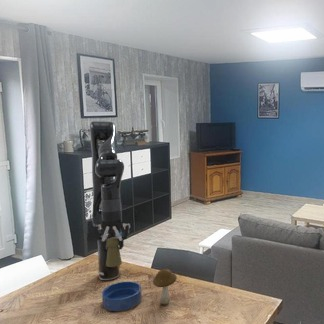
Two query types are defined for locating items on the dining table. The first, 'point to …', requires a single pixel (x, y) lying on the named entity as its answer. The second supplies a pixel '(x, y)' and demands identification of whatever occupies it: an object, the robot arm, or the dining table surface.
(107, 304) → the bowl
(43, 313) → the dining table surface
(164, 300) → the mushroom
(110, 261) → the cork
